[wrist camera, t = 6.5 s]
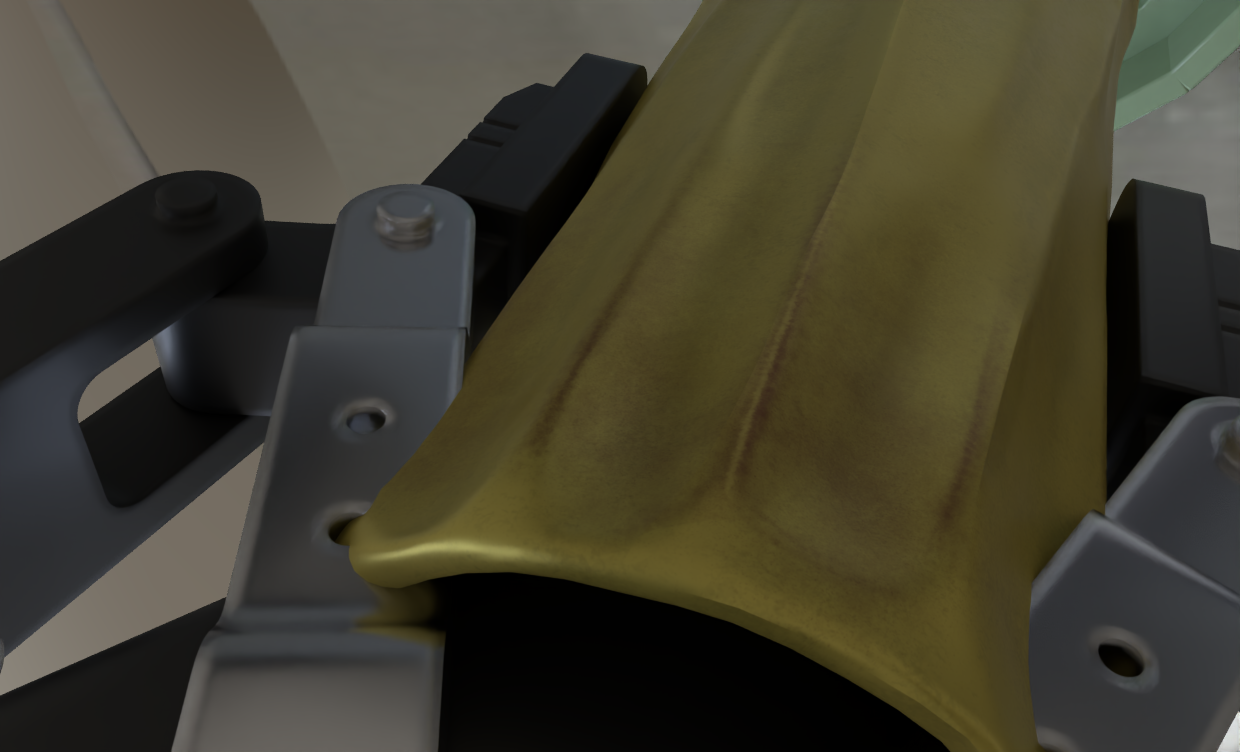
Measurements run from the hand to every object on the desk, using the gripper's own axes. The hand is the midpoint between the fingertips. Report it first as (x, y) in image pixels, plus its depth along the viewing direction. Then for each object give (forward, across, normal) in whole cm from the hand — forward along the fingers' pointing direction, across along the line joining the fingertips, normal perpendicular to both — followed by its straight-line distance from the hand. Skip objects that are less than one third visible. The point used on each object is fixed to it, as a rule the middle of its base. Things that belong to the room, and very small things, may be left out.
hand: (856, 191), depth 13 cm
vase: (+6, 0, 0) cm, 6 cm away
